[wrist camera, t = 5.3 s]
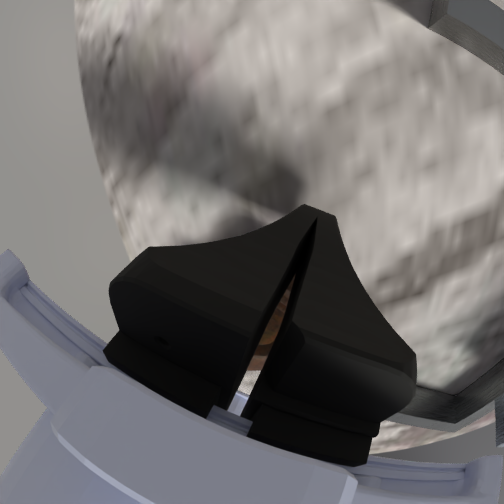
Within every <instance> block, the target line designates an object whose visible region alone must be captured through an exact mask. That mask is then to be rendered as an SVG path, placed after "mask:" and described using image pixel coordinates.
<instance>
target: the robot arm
mask: <svg viewBox="0 0 504 504" xmlns="http://www.w3.org/2000/svg"><path fill="white" fill-rule="evenodd" d="M294 275H295V278H294V282H293V285H292V289H291V292H290V296H289V299H288V303H287V306H286V310H285V313H284V317H283V320H282V323H281V326H280V328H279V331H278V333H277V336H276V338H275V340H274V343H273V345H272V347H271V350H270V352H269V354H268V356H267V359H266V361H265V363H264V365H263V368H262V370H261V372H260V374H259V377H258V379H257V381H256V383H255V385H254V387H253V390H252V392H251V394H250V396H249V395H247V394H245V393H242V392H240V391H238V388H239V386H240V384H241V381H242V379H243V377H244V375H245V373H246V371H247V369H248V367H249V364H250V362H251V360H252V358H253V356H254V354H255V351H256V349H257V347H258V345H259V343H260V341H261V338H262V336H263V334H264V332H265V329H266V327H267V325H268V323H269V321H270V319H271V317H272V315H273V313H274V311H275V310H276V308H277V306H278V304H279V303H280V301H281V299H282V297H283V295H284V294H285V292H286V290H287V288H288V286H289V285H290V283H291V281H292V279H293V277H294ZM109 297H110V303H111V306H112V309H113V312H114V315H115V318H116V321H117V324H118V327H119V332H118V333H117V334H116V335H115V336H114V337H113V338H112V340H111V341H110V342H109V343H108V344H107V343H106V342H104V341H103V340H102V339H100V338H99V337H97V336H96V335H95V334H93V333H92V332H91V331H89V330H88V329H87V328H85V327H84V326H83V325H82V324H80V323H79V322H78V321H76V320H75V319H74V318H73V317H71V316H70V315H69V314H68V313H67V312H65V311H64V310H63V309H62V308H60V307H59V306H58V305H57V304H56V303H55V302H54V301H52V300H51V299H50V298H49V297H48V296H47V295H46V294H44V293H43V292H42V291H41V290H40V289H39V288H38V287H37V286H36V285H35V284H34V283H33V282H32V281H31V280H30V279H29V275H28V273H27V271H26V269H25V267H24V265H23V263H22V262H21V261H20V259H19V258H18V257H16V255H15V254H13V252H11V250H9V249H7V250H6V251H5V252H4V253H2V254H1V255H0V348H1V350H2V351H3V353H4V354H5V356H6V357H7V359H8V360H9V361H10V362H11V364H12V366H13V367H14V368H15V370H16V371H17V372H18V374H19V375H20V376H21V378H22V379H23V380H24V381H25V383H26V384H27V385H28V386H29V387H30V389H31V390H32V391H33V392H34V393H35V395H36V396H37V397H38V398H39V399H40V400H41V402H43V404H44V405H45V406H46V407H47V409H46V410H45V412H44V413H43V414H42V416H41V417H40V418H39V420H38V421H37V422H36V424H35V425H34V427H33V428H32V430H31V431H30V432H29V434H28V435H27V437H26V438H25V439H24V441H23V442H22V444H21V445H20V447H19V448H18V450H17V451H16V453H15V454H14V456H13V457H12V459H11V460H10V462H9V463H8V465H7V466H6V468H5V470H4V471H3V473H2V474H1V476H0V504H498V499H499V493H500V485H501V476H502V464H503V456H502V455H488V456H483V457H479V458H477V459H474V460H472V461H470V462H468V463H467V464H448V463H426V462H414V461H405V460H397V459H389V458H383V457H377V456H371V455H369V451H370V446H371V442H372V437H373V438H374V437H376V436H377V435H378V434H379V429H380V423H381V422H382V421H384V420H386V419H387V418H389V417H391V416H393V415H394V414H396V413H398V412H399V411H401V410H402V409H403V408H405V407H406V406H407V405H408V404H410V403H411V402H412V400H413V398H414V397H415V395H416V381H417V361H416V354H415V353H414V351H413V350H412V349H411V348H410V347H409V346H408V345H407V344H406V343H405V341H404V340H403V339H402V338H401V337H400V336H399V335H398V334H397V333H396V332H395V330H394V329H393V328H392V327H391V325H390V324H389V323H388V322H387V320H386V319H385V318H384V317H383V315H382V314H381V313H380V311H379V310H378V309H377V307H376V306H375V304H374V303H373V301H372V300H371V298H370V297H369V295H368V294H367V292H366V290H365V289H364V287H363V286H362V284H361V282H360V280H359V278H358V276H357V274H356V273H355V271H354V269H353V267H352V265H351V262H350V260H349V257H348V255H347V252H346V249H345V247H344V244H343V241H342V238H341V234H340V231H339V227H338V223H337V219H336V217H335V216H334V215H331V214H329V213H326V212H324V211H321V210H319V209H316V208H313V207H311V206H308V205H305V204H304V205H301V206H300V207H298V208H297V209H295V210H294V211H292V212H291V213H289V214H288V215H286V216H284V217H282V218H281V219H279V220H277V221H275V222H273V223H271V224H269V225H267V226H265V227H263V228H260V229H258V230H255V231H253V232H250V233H247V234H244V235H241V236H237V237H233V238H228V239H224V240H220V241H215V242H209V243H202V244H193V245H183V246H160V247H148V248H147V249H146V250H144V251H143V252H142V253H141V254H139V255H138V256H137V257H136V258H135V259H134V260H133V261H132V262H131V263H130V264H129V265H128V266H127V267H126V268H124V270H122V271H121V272H120V273H119V274H118V275H117V276H116V277H115V278H114V279H113V280H112V281H111V282H110V286H109Z"/></svg>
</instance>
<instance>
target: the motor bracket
mask: <svg viewBox="0 0 504 504" xmlns="http://www.w3.org/2000/svg"><path fill="white" fill-rule="evenodd" d="M428 29H430V30H432V31H434V32H436V33H438V34H440V35H442V36H444V37H446V38H448V39H449V40H451V41H453V42H455V43H456V44H458V45H460V46H462V47H463V48H465V49H467V50H468V51H470V52H471V53H473V54H475V55H476V56H478V57H479V58H481V59H482V60H484V61H485V62H486V63H488V64H489V65H491V66H492V67H494V68H495V69H496V70H498V71H499V72H500V73H502V74H503V75H504V10H502V9H501V8H500V7H498V6H497V5H495V4H494V3H492V2H491V1H489V0H434V1H433V7H432V12H431V17H430V23H429V27H428ZM494 409H495V416H496V447H504V359H502V360H501V361H500V362H499V363H498V364H497V365H495V366H494V367H493V368H492V369H491V370H490V371H488V372H487V373H486V374H485V375H483V376H482V377H481V378H479V379H478V380H477V381H476V382H474V383H473V384H472V385H470V386H469V387H467V388H466V389H465V390H463V391H462V392H460V393H459V394H458V395H456V396H453V395H449V394H445V393H441V392H437V391H433V390H430V389H426V388H422V387H418V386H416V395H415V397H414V398H413V400H412V402H411V403H410V404H408V405H407V406H406V407H405V408H403V409H402V410H401V411H399V412H398V413H396V414H394V415H393V416H391V417H389V418H387V419H386V420H387V421H392V422H396V423H401V424H406V425H411V426H416V427H422V428H428V429H434V430H440V431H448V432H456V431H458V430H460V429H461V428H463V427H465V426H467V425H469V424H471V423H472V422H474V421H476V420H477V419H479V418H481V417H483V416H484V415H486V414H487V413H489V412H491V411H492V410H494Z"/></svg>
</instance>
